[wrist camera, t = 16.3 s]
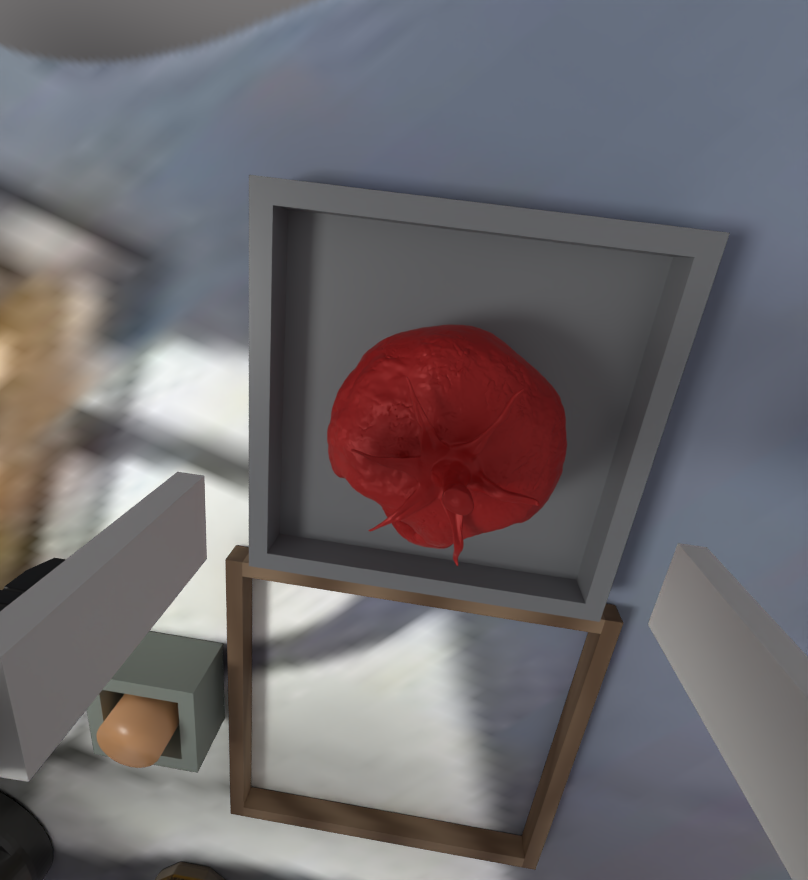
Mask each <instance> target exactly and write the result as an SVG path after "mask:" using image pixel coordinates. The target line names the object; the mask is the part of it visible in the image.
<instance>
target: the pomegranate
mask: <svg viewBox="0 0 808 880" xmlns="http://www.w3.org/2000/svg"><path fill="white" fill-rule="evenodd" d="M327 443H328V454H329V460H330V462H331V466H332V469H333V471H334V473H335V474H336V475H337V476H338V477H340V478H345V479H346V480H347V481H348V482H349V484H350V485H351V486H352V488H353V489H355V490H356V491H357V492H359V493H360V494H362V495H363V496H365V497H367V498H369V499H372V500H374V501H375V502H377V503H378V504H379V505H381V507H382V509H383V510H384V512H385V515H386V516H387V518H386V519H385V520H384V521H383V522H381V523H380V524H378V525H377V526H375V527H374V528H372V529H370V530H368V531H370V532H371V531H374V530H376V529H378V528H380V527H383V526H386V525H388V524H391V523H392V525H393V527H394V528H395V529H396V531H397V532H398V533H399V534H400V535H401V536H402V537H403V538H405V539H406V540H407V541H409V542H411V543H413V544H416V545H419V546H422V547H428V548H436V549H445V548H448V547H450V546H451V545H453V544H454V552H453V560H454V562H455V564H456V565H457V566H458V556H459V554H460V553H461V552H462V550H463V547H464V542H463V540H464V539H466V538H469V537H473V536H475V535H480V534H482V533H487V532H492V531H495V530H500V529H504V528H506V527H508V526H510V525H513V524H516V523H523V522H525V521H527V520H529V519H530V518H531V517H532V516H534V515H535V514H536V513H537V512H538V511H539V510H540V509H541V508H542V507H543V506H544V505H545V503H546V502H547V501H548V500H549V498H550V496H551V494H552V492H553V491H554V489H555V487H556V485H557V483H558V481H559V478H560V476H561V474H562V471H563V463H564V461H565V456H566V450H567V439H566V416H565V411H564V407H563V405H562V403H561V398H560V396H559V395H558V393H557V392H556V390H555V389H554V387H553V386H552V385H551V384H550V383H549V382H548V381H547V380H546V378H545V377H543V376H542V375H541V374H540V373H539V372H538V371H537V369H535V368H534V367H533V366H532V365H530V364H529V363H528V362H527V361H526V360H525V359H524V358H523V357H521V356H520V355H519V354H517V353H516V352H515V351H514V350H513V349H512V348H511V347H509V346H508V345H507V344H506V343H505V342H504V341H502V340H501V339H500V338H498V337H496V336H495V335H494V334H492V333H491V332H488V331H485V330H483V329H481V328H477V327H474V326H467V325H439V326H432V327H422V328H418V329H414V330H409V331H405V332H400V333H397V334H394V335H392V336H390V337H387V338H385V339H383V340H381V341H380V342H378V343H377V344H376V345H374V346H373V347H372V348H371V349H369V350H368V351H367V352H366V353H365V354H364V355H363V356H362V358H361V360H360V361H359V363H358V365H357V366H356V368H355V369H354V370H353V371H352V372H351V373H350V374H349V375H348V377H347V378H346V379H345V381H344V382H343V384H342V386H341V387H340V389H339V391H338V393H337V396H336V398H335V401H334V404H333V407H332V411H331V420H330V424H329V426H328V430H327Z"/></svg>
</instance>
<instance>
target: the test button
mask: <svg viewBox="0 0 808 880" xmlns="http://www.w3.org/2000/svg"><path fill="white" fill-rule="evenodd" d="M178 725H179V712H178V703H176V702H170V701H164V700H158V699H153V698H147V697H141V696H135V695H130V694H124V695H123V697H122V698H121V699H120V701H119V702H118V703H117V705H116V706H115V707H114V709H113V710H112V711H111V713H110V714H109V715H108V717H107V718H106V719H105V721H104V722H103V723H102V725H101V726H100V727H99V729H98V731H97V735H96V736H97V742H98V744H99V746H100V748H101V749H102V751H103V752H104V753H105V754H106V755H107V756H109V757H110V758H111V759H113V760H114V761H116V762H118V763H120V764H123V765H126V766H129V767H135V768H143V767H148V766H151V765H153V764H154V763H156V762H157V761H158V759H159V758H160V756H161V754H162V753H163V751H164V749H165V747H166V746H167V744H168V742H169V741H170V739H171V737H172V736H173V734H174V732H175V730H176V729H177V727H178Z"/></svg>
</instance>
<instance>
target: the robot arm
mask: <svg viewBox="0 0 808 880" xmlns="http://www.w3.org/2000/svg"><path fill="white" fill-rule="evenodd" d="M206 559H207V550H206V517H205V483H204V476H203V475H196V474H189V473H182V472H177V473H175V474H174V475H173V476H172V477H170V478H169V479H168V480H167V481H165V482H164V483H163V484H161V485H160V486H159V487H158V488H156V489H155V490H154V491H153V492H151V493H150V494H149V495H147V496H146V497H145V498H144V499H142V500H141V501H140V502H139V503H137V504H136V505H135V506H134V507H132V508H131V509H130V510H128V511H127V512H126V513H125V514H123V515H122V516H121V517H120V518H118V519H117V520H116V521H114V522H113V523H112V524H111V525H109V526H108V527H107V528H106V529H104V530H103V531H102V532H101V533H99V534H98V535H97V536H95V537H94V538H93V539H92V540H90V541H89V542H88V543H87V544H85V545H84V546H83V547H81V548H80V549H79V550H78V551H76V552H75V553H74V554H73V555H71V556H70V557H69V558H68V559H66V560H65V559H59V558H53V559H51V560H48V561H46V562H44V563H42V564H39V565H37V566H35V567H33V568H31V569H28V570H26V571H25V572H24V573H22V574H21V575H19V576H18V577H17V578H15V579H14V580H13V581H11V582H10V583H9V584H7V585H6V586H5V587H4V589H3V590H0V777H2V778H9V779H15V780H21V781H27V782H29V781H30V780H31V778H32V777H33V776H34V775H35V773H36V772H37V771H38V770H39V768H40V767H41V766H42V765H43V763H44V762H45V761H46V760H47V758H48V757H49V756H50V755H51V753H52V752H53V751H54V750H55V748H56V747H57V746H58V745H59V743H60V742H61V741H62V740H63V738H64V737H65V736H66V735H67V733H68V732H69V731H70V730H71V728H72V727H73V726H74V725H75V723H76V722H77V721H78V720H79V718H80V717H81V716H82V715H83V713H84V712H85V711H86V710H87V708H88V707H89V706H90V705H91V703H92V702H93V701H94V700H95V698H96V697H97V696H98V695H99V693H100V692H101V691H102V690H103V688H104V687H105V686H106V685H107V683H108V682H109V681H110V680H111V678H112V677H113V676H114V674H115V673H116V672H117V671H118V669H119V668H120V667H121V666H122V664H123V663H124V662H125V661H126V659H127V658H128V657H129V656H130V654H131V653H132V652H133V651H134V649H135V648H136V647H137V646H138V644H139V643H140V642H141V641H142V639H143V638H144V637H145V636H146V634H147V633H148V632H149V631H150V629H151V628H152V627H153V626H154V624H155V623H156V622H157V621H158V619H159V618H160V617H161V616H162V614H163V613H164V612H165V611H166V609H167V608H168V607H169V606H170V604H171V603H172V602H173V601H174V599H175V598H176V597H177V596H178V594H179V593H180V592H181V591H182V589H183V588H184V587H185V586H186V584H187V583H188V582H189V581H190V579H191V578H192V577H193V576H194V574H195V573H196V572H197V571H198V569H199V568H200V567H201V566H202V564H203V563H204V562H205V561H206ZM648 625H649V627H650V629H651V630H652V632H653V634H654V636H655V637H656V639H657V641H658V643H659V645H660V646H661V648H662V650H663V652H664V653H665V655H666V657H667V659H668V660H669V662H670V664H671V666H672V668H673V669H674V671H675V673H676V675H677V676H678V678H679V680H680V682H681V683H682V685H683V687H684V689H685V691H686V692H687V694H688V696H689V698H690V699H691V701H692V703H693V705H694V707H695V708H696V710H697V712H698V714H699V715H700V717H701V719H702V721H703V722H704V724H705V726H706V728H707V730H708V731H709V733H710V735H711V737H712V738H713V740H714V742H715V744H716V745H717V747H718V749H719V751H720V753H721V754H722V756H723V758H724V760H725V761H726V763H727V765H728V767H729V768H730V770H731V772H732V774H733V776H734V777H735V779H736V781H737V783H738V784H739V786H740V788H741V790H742V792H743V793H744V795H745V797H746V799H747V800H748V802H749V804H750V806H751V807H752V809H753V811H754V813H755V815H756V816H757V818H758V820H759V822H760V823H761V825H762V827H763V829H764V830H765V832H766V834H767V836H768V838H769V839H770V841H771V843H772V845H773V846H774V848H775V850H776V852H777V853H778V855H779V857H780V859H781V861H782V862H783V864H784V866H785V868H786V869H787V871H788V873H789V875H790V877H791V878H792V880H808V657H807V656H806V655H805V653H804V652H803V651H802V650H801V649H800V648H799V647H798V646H797V645H796V644H795V643H794V642H793V640H792V639H791V638H790V637H789V636H788V635H787V634H786V633H785V632H784V631H783V630H782V629H781V627H780V626H779V625H778V624H777V623H776V622H775V621H774V620H773V619H772V618H771V617H770V616H769V614H768V613H767V612H766V611H765V610H764V609H763V608H762V607H761V606H760V605H759V604H758V603H757V601H756V600H755V599H754V598H753V597H752V596H751V595H750V594H749V593H748V592H747V591H746V590H745V588H744V587H743V586H742V585H741V584H740V583H739V582H738V581H737V580H736V579H735V578H734V576H733V575H732V574H731V573H730V572H729V571H728V570H727V569H726V568H725V567H724V566H723V565H722V563H721V562H720V561H719V560H718V559H717V558H716V557H715V556H714V555H713V554H712V553H711V552H710V550H709V549H708V548H707V547H701V546H694V545H687V544H680V543H678V545H677V547H676V550H675V553H674V556H673V558H672V561H671V564H670V566H669V569H668V572H667V574H666V577H665V580H664V583H663V585H662V588H661V591H660V593H659V596H658V599H657V602H656V604H655V607H654V610H653V612H652V615H651V618H650V620H649V623H648ZM52 861H53V849H52V845H51V842H50V840H49V838H48V836H47V834H46V832H45V831H44V829H43V828H42V826H41V825H40V824H39V823H38V821H37V820H36V819H35V818H34V817H33V816H32V815H31V814H30V813H29V812H28V811H26V810H25V809H24V808H23V807H22V806H20V805H19V804H18V803H16V802H15V801H13V800H12V799H10V798H9V797H7V796H6V795H4V794H2V793H0V880H42V879H43V878H44V876H45V875H46V873H47V872H48V870H49V869H50V867H51V864H52Z"/></svg>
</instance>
